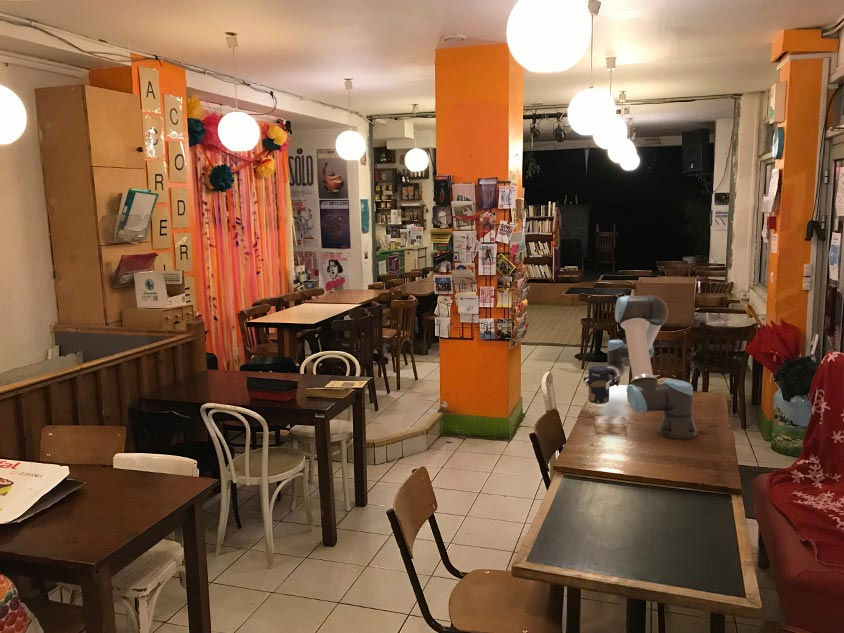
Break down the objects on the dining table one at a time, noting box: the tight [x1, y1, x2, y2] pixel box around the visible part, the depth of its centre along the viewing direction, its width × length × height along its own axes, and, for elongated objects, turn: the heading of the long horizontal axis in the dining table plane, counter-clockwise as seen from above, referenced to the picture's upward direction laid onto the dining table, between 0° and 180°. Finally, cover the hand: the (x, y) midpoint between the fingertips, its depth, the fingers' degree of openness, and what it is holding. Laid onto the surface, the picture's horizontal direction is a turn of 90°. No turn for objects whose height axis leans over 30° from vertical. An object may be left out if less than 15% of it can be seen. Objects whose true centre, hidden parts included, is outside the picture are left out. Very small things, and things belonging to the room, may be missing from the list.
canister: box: [588, 365, 610, 405], centre depth 324 cm, size 10×10×18 cm
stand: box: [594, 415, 628, 435], centre depth 305 cm, size 13×13×5 cm
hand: (595, 385), depth 320 cm, fingers closed on canister, 9 cm apart
